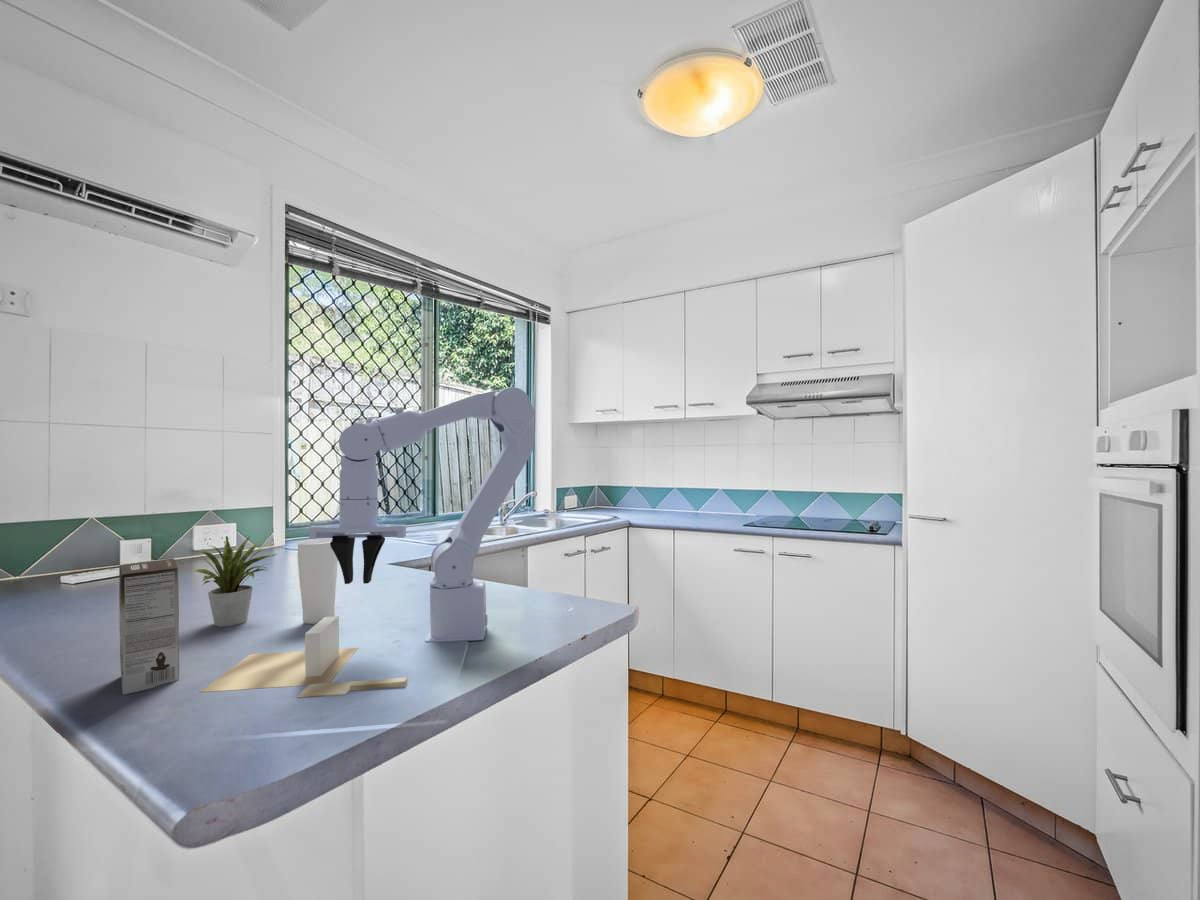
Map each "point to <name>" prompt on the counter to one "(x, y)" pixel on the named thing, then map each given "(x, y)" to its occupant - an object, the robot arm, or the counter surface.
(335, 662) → the bamboo mat
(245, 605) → the house plant
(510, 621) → the counter surface
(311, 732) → the counter surface
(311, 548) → the drinking glass
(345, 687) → the beech spatula
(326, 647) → the white block
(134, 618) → the coffee box
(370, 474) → the robot arm
